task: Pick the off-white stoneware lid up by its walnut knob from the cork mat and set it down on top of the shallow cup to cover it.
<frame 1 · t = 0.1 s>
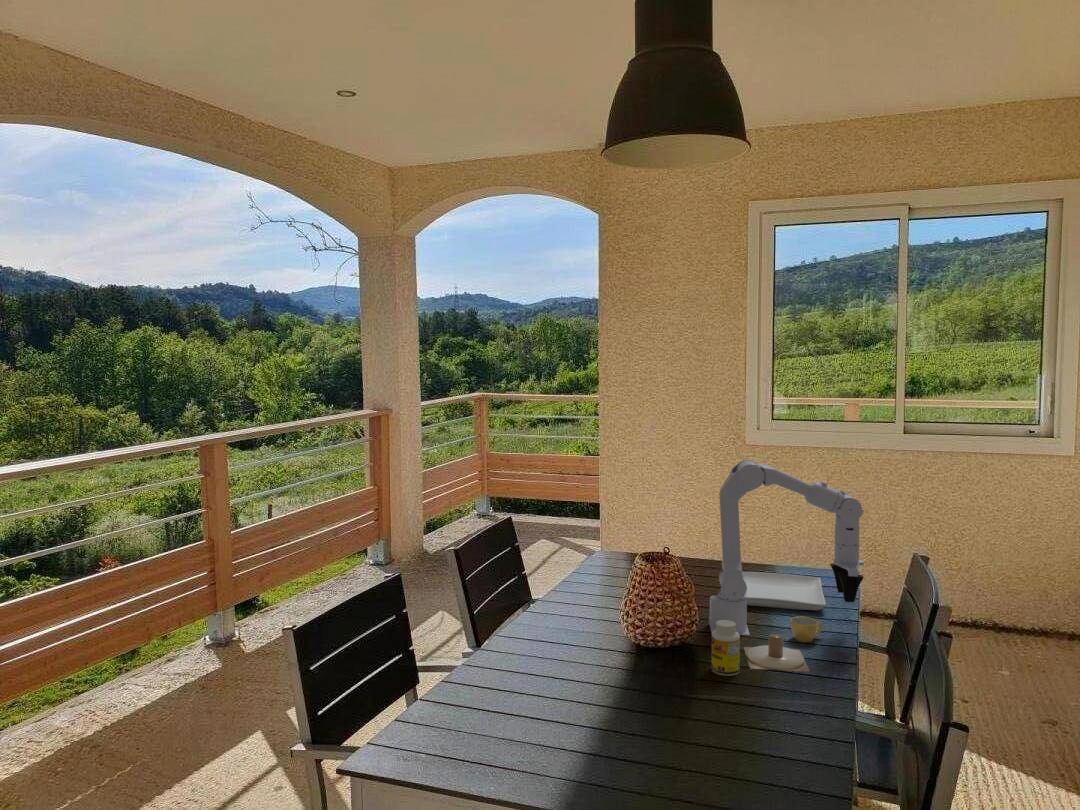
hand: (845, 596, 193), 10 cm above the table, tool pointing down, fingers open, 7 cm apart
mat: (775, 661, 178), on the table
cup: (804, 642, 190), on the table
supplement bottle: (725, 673, 172), on the table
square plate: (774, 598, 226), on the table
lid: (775, 658, 178), point 1 cm above the table, touching mat
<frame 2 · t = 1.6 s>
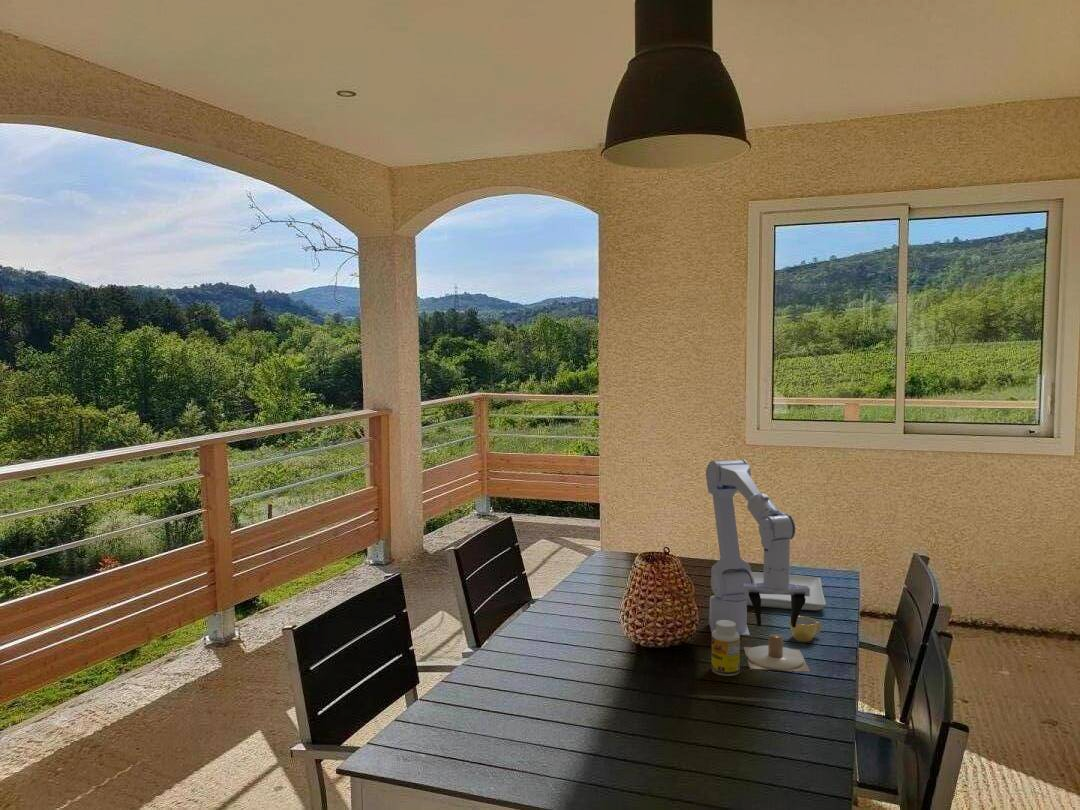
hand: (775, 625, 177), 9 cm above the table, tool pointing down, fingers open, 7 cm apart
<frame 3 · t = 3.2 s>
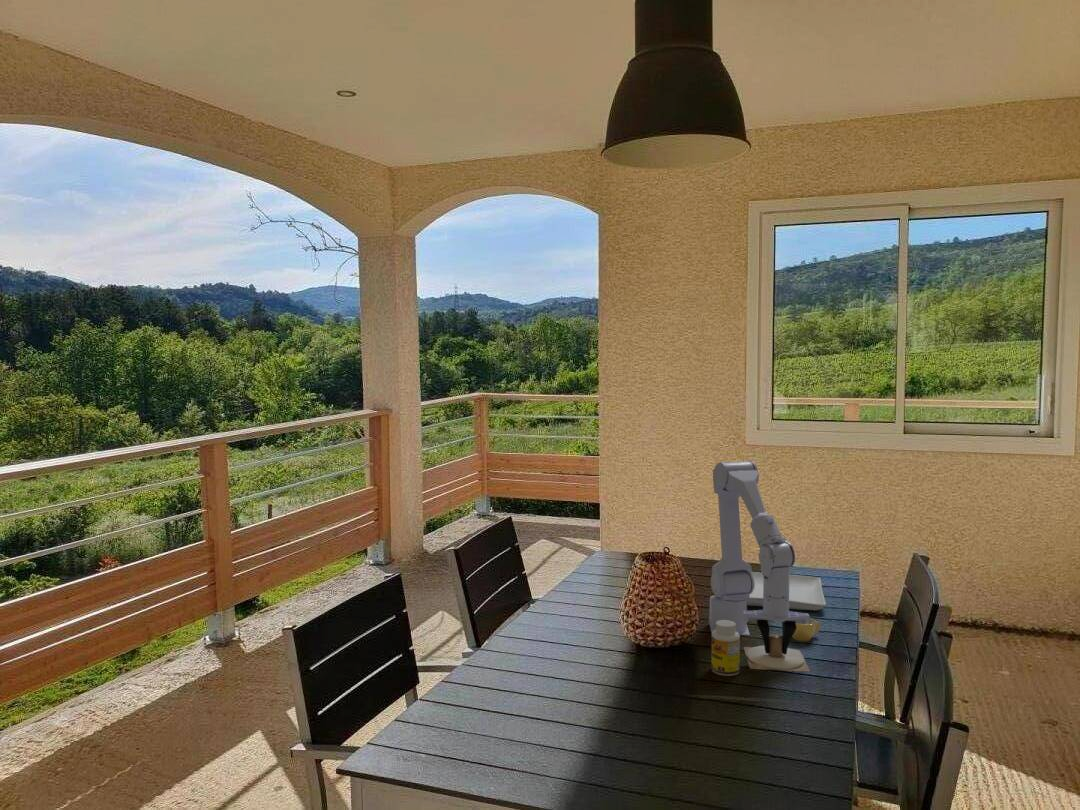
hand: (775, 652, 178), 2 cm above the table, tool pointing down, fingers closed on lid, 3 cm apart
lid: (775, 658, 178), point 1 cm above the table, touching gripper, mat
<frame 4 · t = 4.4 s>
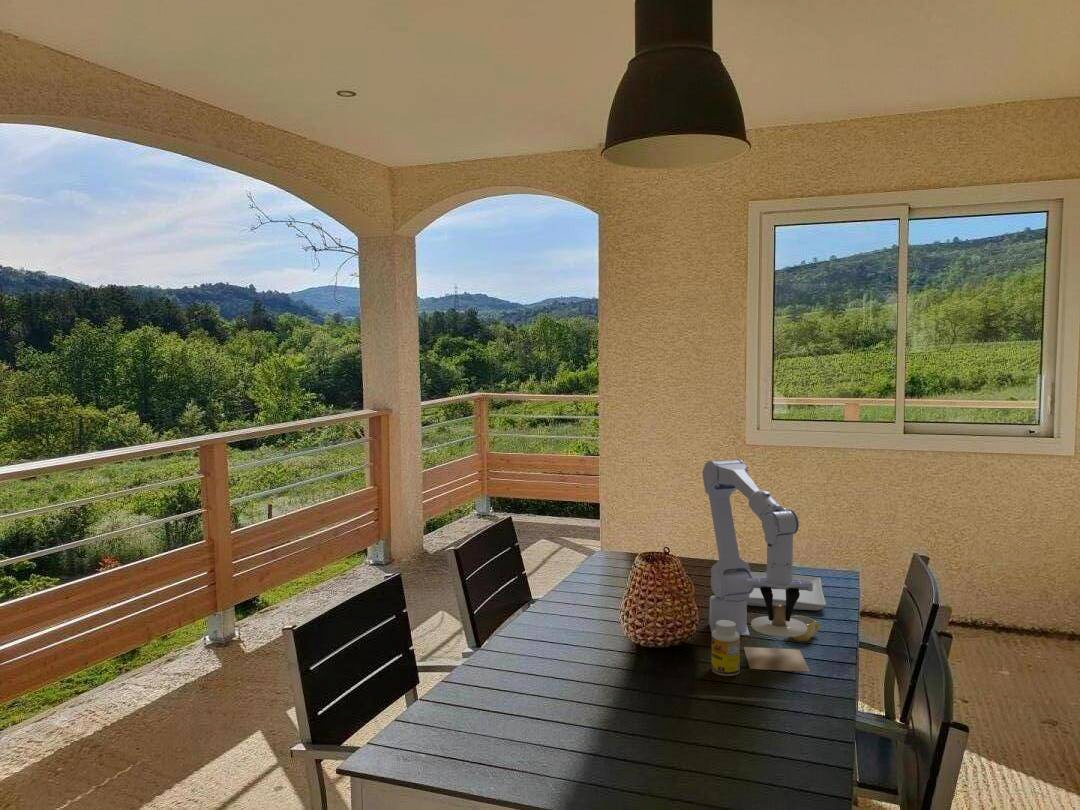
hand: (778, 619, 178), 9 cm above the table, tool pointing down, fingers closed on lid, 3 cm apart
lid: (778, 627, 178), point 7 cm above the table, touching gripper
everything else where it was.
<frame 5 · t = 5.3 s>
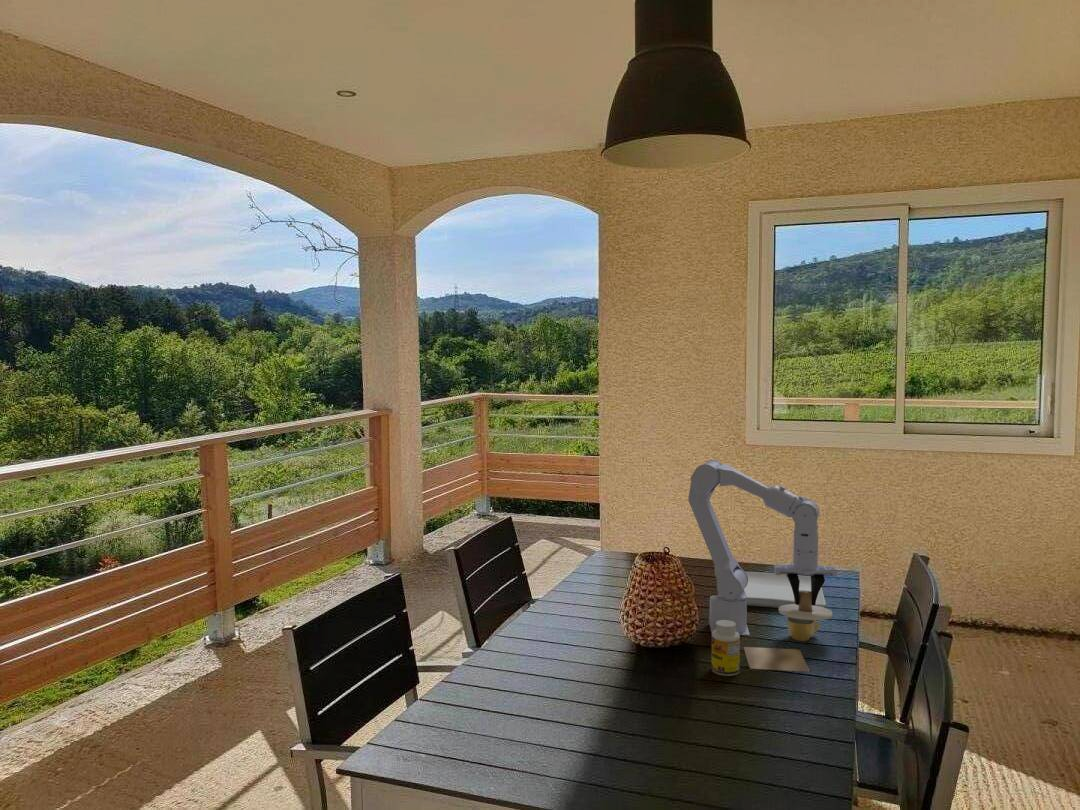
hand: (804, 604, 190), 9 cm above the table, tool pointing down, fingers closed on lid, 3 cm apart
lid: (805, 613, 189), point 7 cm above the table, touching gripper
everything else where it was.
when the fingers open (8 cm above the table, at t = 5.9 s): lid moves 1 cm, resting on cup.
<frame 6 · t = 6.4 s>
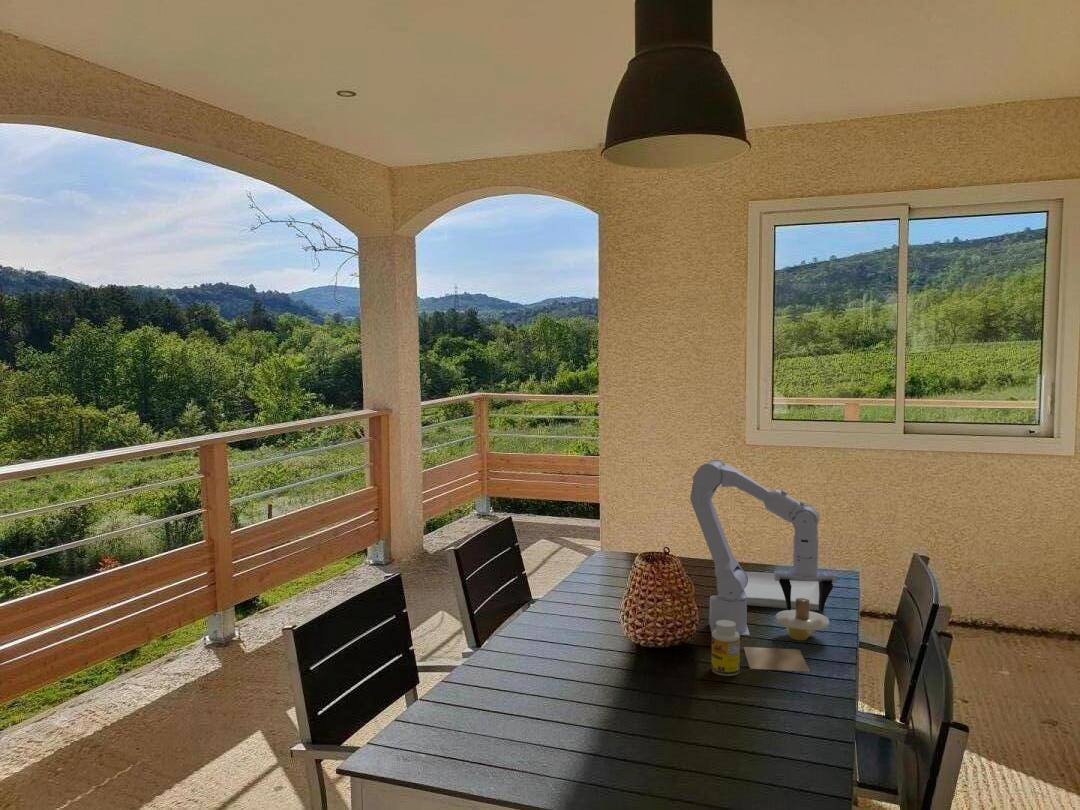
hand: (804, 609, 190), 8 cm above the table, tool pointing down, fingers open, 7 cm apart
cup: (798, 641, 191), on the table, touching lid
lid: (802, 621, 190), point 5 cm above the table, touching cup
everything else where it was.
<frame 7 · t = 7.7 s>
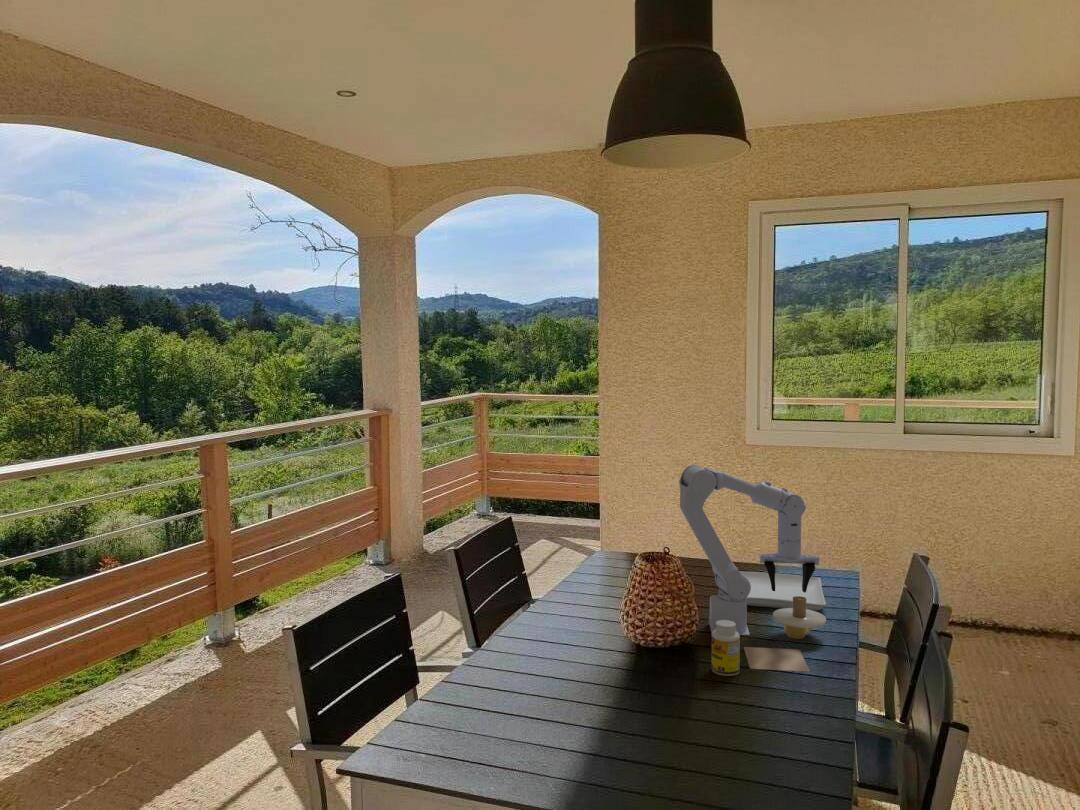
hand: (788, 590, 199), 10 cm above the table, tool pointing down, fingers open, 7 cm apart
cup: (796, 639, 192), on the table, touching lid
lid: (799, 619, 191), point 5 cm above the table, touching cup
everything else where it was.
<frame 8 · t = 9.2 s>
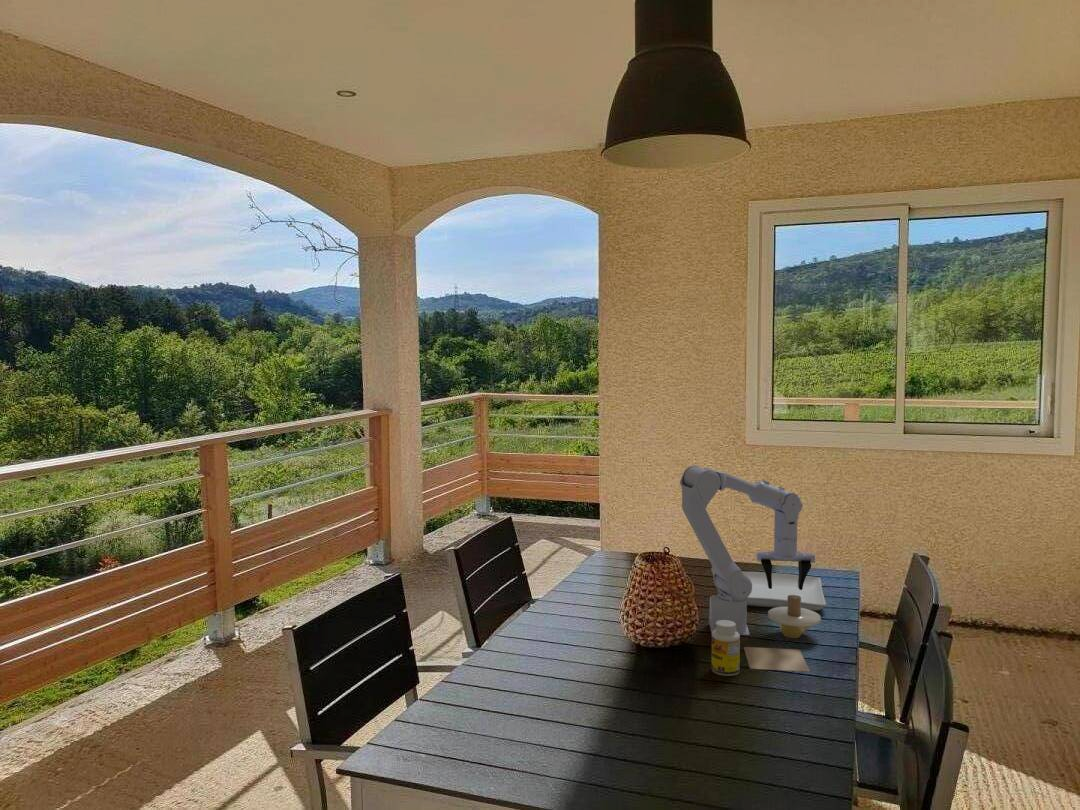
hand: (785, 588, 201), 10 cm above the table, tool pointing down, fingers open, 7 cm apart
lid: (793, 617, 192), point 5 cm above the table, touching cup
at the end: lid 0.4 cm from the cup (horizontally); lid point 5.0 cm above the table; the gripper is holding nothing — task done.
